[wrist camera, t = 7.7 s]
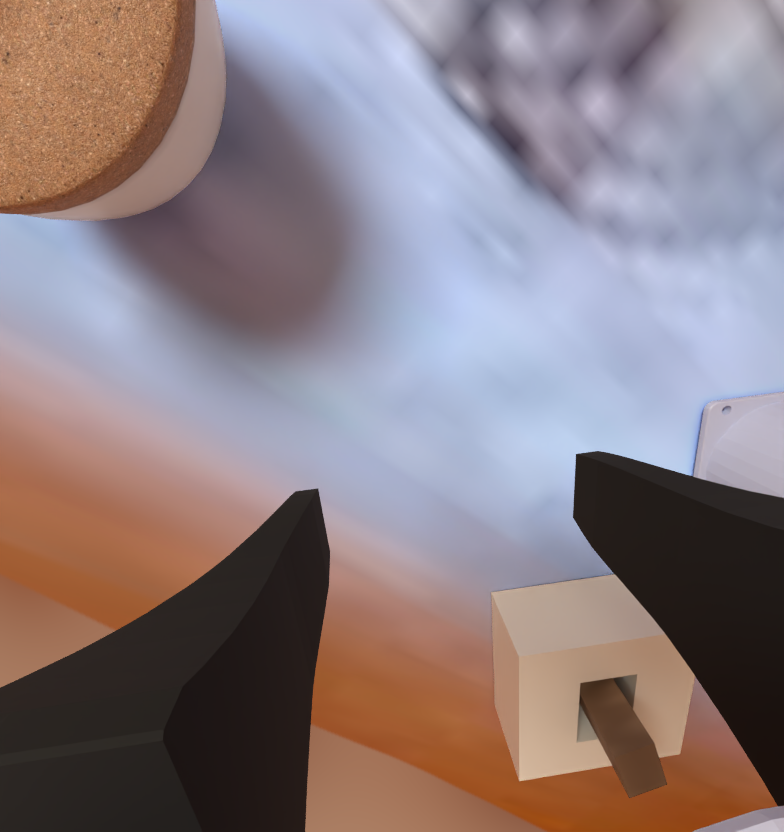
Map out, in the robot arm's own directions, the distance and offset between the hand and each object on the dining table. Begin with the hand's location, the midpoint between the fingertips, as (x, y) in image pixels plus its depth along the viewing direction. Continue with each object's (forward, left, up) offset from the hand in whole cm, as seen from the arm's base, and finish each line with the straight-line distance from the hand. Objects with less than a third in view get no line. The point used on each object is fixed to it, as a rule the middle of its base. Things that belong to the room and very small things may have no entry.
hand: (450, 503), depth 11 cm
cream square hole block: (-9, +18, -10) cm, 22 cm away
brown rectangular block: (-9, +18, -9) cm, 22 cm away
